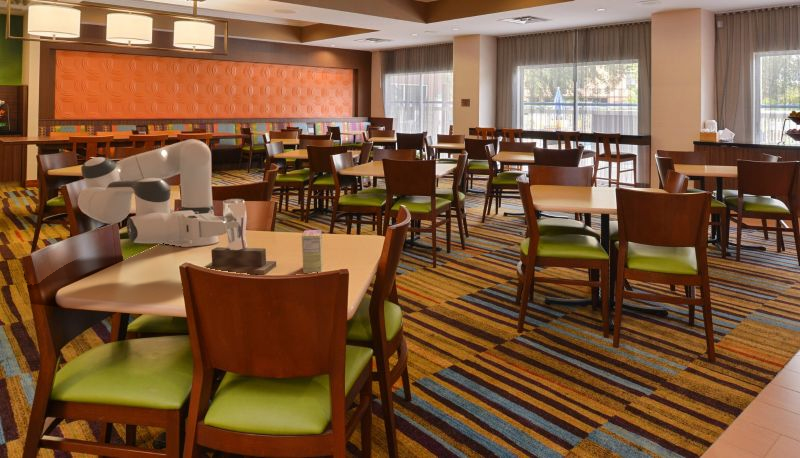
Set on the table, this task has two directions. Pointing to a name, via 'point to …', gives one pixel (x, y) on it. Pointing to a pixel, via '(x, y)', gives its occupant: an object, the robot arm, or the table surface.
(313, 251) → the box
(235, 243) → the beer glass
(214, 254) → the ridge
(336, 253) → the table surface
